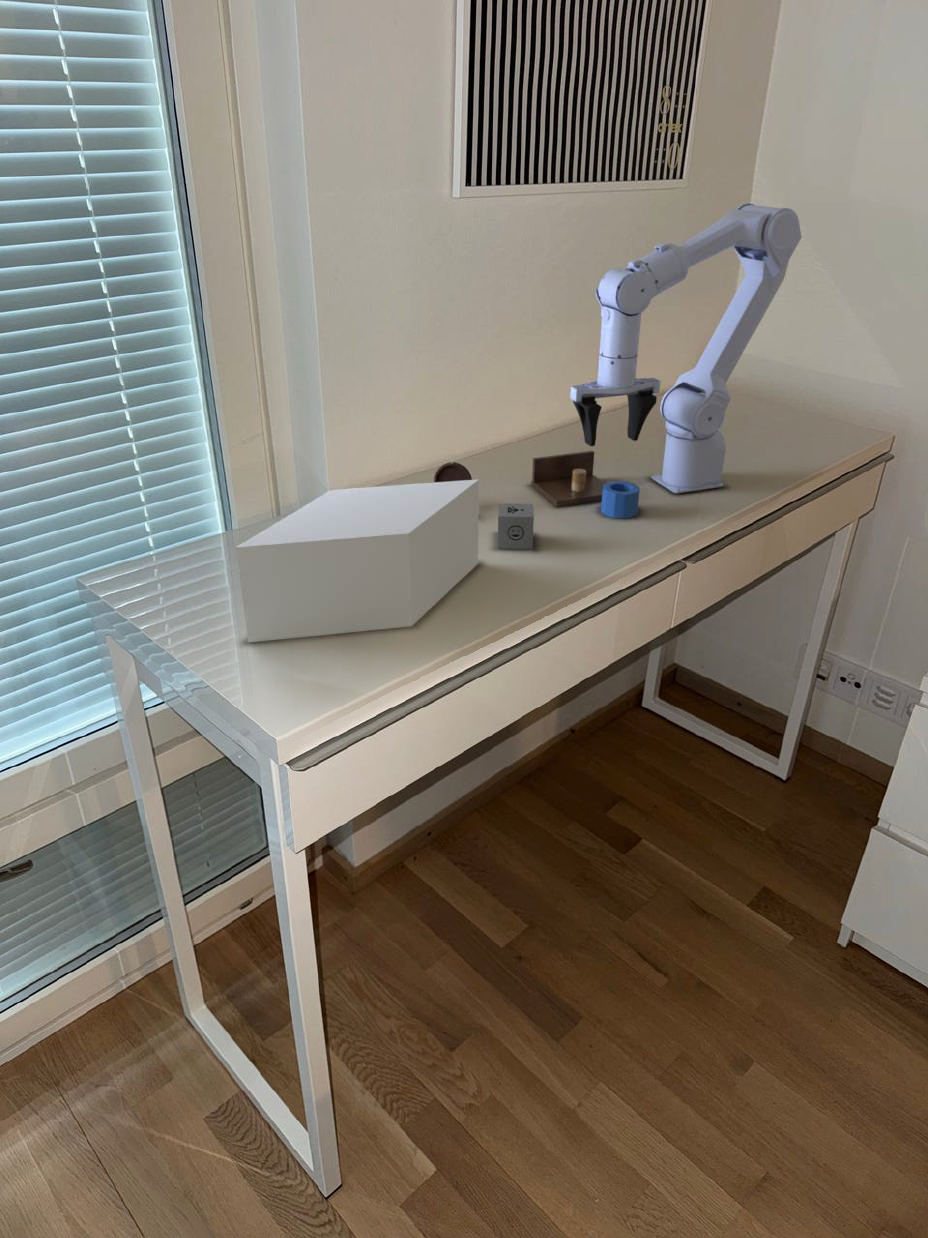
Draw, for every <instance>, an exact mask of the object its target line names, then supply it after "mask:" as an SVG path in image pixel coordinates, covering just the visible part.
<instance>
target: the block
mask: <svg viewBox="0 0 928 1238" xmlns="http://www.w3.org/2000/svg"><path fill="white" fill-rule="evenodd" d="M479 521H480V479H472V480H463V481H449V482H435V483H434V482H423V483H421V482H420V483H410V484H395V485H382V486H381V485H380V486H367V487H365V486H364V487H352V488H340V489H330V490H328V491H326V492H325V493H323V494H322V495H320V496H318V497H317V498H315V499H313V500H312V501H310V502H309V503H306V504H305V505H303V506H302V507H300V508H298V509H297V510H295V511H293V512H292V513H290V514H288V515H287V516H285V517H284V518H282V519H280V520H278V521H277V522H275V523H274V524H272V525H270V526H268V527H267V528H265V529H263V530H262V531H260V532H259V533H257V534H255V535H254V536H252V537H250V538H249V539H247V540H245V541H244V542H242V543H240V544H239V545H237V546H235V551H236V560H237V567H238V575H239V581H240V589H241V597H242V604H243V611H244V612H243V613H244V620H245V626H246V627H245V628H246V634H247V635H246V636H247V641H248V643H255V642H266V641H275V640H285V639H286V640H288V639H297V638H298V639H299V638H306V637H316V636H317V637H318V636H328V635H337V634H347V633H348V634H349V633H357V632H367V631H368V632H369V631H377V630H387V629H398V628H399V629H400V628H408V627H412V626H414V625H415V624H416V623H417V622H418V621H419V620H420V619H421V618H422V617H423V616H424V615H425V614H427V613H428V612H429V610H431V609H432V608H433V607H434V606H435V605H436V604H437V603H438V602H439V601H440V600H441V599H442V598H443V597H445V596H446V595H447V594H448V593H449V592H450V591H451V590H452V589H453V588H454V587H455V586H456V585H457V584H459V582H460V581H462V580H463V579H464V578H465V576H467V574H469V573H470V572H472V570H473V569H474V568H475V567H476V566H477V565H478V564H479V537H480V536H479V528H480V527H479V526H480V525H479V524H480V523H479Z"/></svg>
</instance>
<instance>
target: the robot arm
mask: <svg viewBox="0 0 928 1238" xmlns="http://www.w3.org/2000/svg"><path fill="white" fill-rule="evenodd" d="M801 240H802V232H801V225H800V219H799V216H798V214H797V213H796V211H795V210H794V209H792V208H789V207H773V206H765V205H757V204H754V203H750V202H749V203H748V202H745V203H742V204H740V205H738V207H737V206H736V208H734V209H730V210H728V211H727V212H726V213H725V215H724V217H722V218H721V219H719V220H717V221H716V222H714V223H713V224H711V225H710V226H708V227H707V228H705V229H704V230H702V231H700V232H699V233H697V234H696V235H694V236H693V237H692V238H689V239H688V240H686V241H685V242H683V243H682V244H680V245H677V244H675V243H670V242H669V243H663V242H660V243H657V244H656V245H654V250H653V251H651V252H650V253H648V254H646V255H644V256H643V257H641V258H638V259H632V260H630V261H629V262H628V263H627V264H628V265H627V266H625V268H617V267H616V268H612V269H610V270H608V271H607V272H606V273H605V274H604V275H603V277H602V278H601V280H600V282H599V284H598V287H596V288H595V298H596V300H597V302H598V304H599V306H600V317H601V326H600V339H599V340H600V341H599V355H598V356H599V358H598V369H597V380H593V381H591V382H587V383H583V384H578V385H572V386H570V391H569V392H570V395H569V399H570V400H572V402H573V405H574V407H575V409H576V412H577V414H578V416H579V420H580V423H581V427H582V431H583V437H584V444H586V445H588V446H589V447H595V446H596V441H597V428H598V422H599V419H600V414H601V411H602V406H601V405H600V404H599V403H598V401H597V400H596V399H604V398H613V397H621V396H627V405H628V419H627V420H628V421H627V430H626V431H627V438H628V439H630V440H631V441H633V442H635V441H636V442H637V441H638V440H639V438H640V434H641V431H642V429H643V426H644V424H645V421H646V419H647V417H648V416H649V414H650V412H651V411H652V409H653V408H654V406H655V405H656V404H657V398H658V397H657V396H656V395H654V394H660V389H661V380H660V379H657V378H656V377H645V378H644V377H643V378H642V377H641V378H636V377H637V367H638V357H639V344H640V332H641V323H642V314H643V313H644V311H646V309H647V308H648V307H649V305H650V303H651V301H652V300H653V298H655V297H656V296H658V295H659V294H662V293H663V292H666V291H667V290H668V289H670V288H672V287H674V286H675V285H677V284H679V283H681V282H683V281H684V280H685V279H686V278H687V276H688V273H689V269H690V268H691V267H693V266H696V265H697V264H699V263H701V262H704V261H705V260H708V259H710V258H712V257H713V256H716V255H718V254H719V253H722V252H724V251H726V250H728V249H731V248H733V250H734V252H735V255H736V257H737V258H738V260H739V262H740V264H741V266H742V267H743V271H744V278H743V280H742V281H741V283H740V285H739V287H738V289H737V291H736V292H735V294H734V296H733V297H732V299H731V301H730V303H729V305H728V307H727V309H726V311H725V312H724V314H723V316H722V319H721V320H720V321H719V324H718V325H717V327H716V329H715V330H714V333H713V334H712V336H711V338H710V340H709V342H708V344H707V345H706V347H705V349H704V351H703V353H702V354H701V356H700V358H699V360H698V362H697V364H696V365H695V367H694V368H692V369H690V370H688V371H686V372H683V374H680V375H679V376H678V379H677V381H676V382H675V383H674V384H673V385H672V387H671V388H669V389H668V390H667V391H666V392H665V393H664V395H663V397H662V399H661V401H660V405H659V412H660V416H661V417H662V419H663V420H664V421H665V426H664V427H665V429H666V434H665V435H666V436H665V445H664V454H663V461H662V462H663V463H662V471H661V472H662V473H659V474H653V475H651V477H650V479H651V480H653V481H655V482H656V483H658V484H659V485H660V486H663V487H664V488H666V489H667V490H668V491H670V492H672V493H673V494H684V493H691V492H698V491H704V490H710V489H711V490H712V489H717V488H723V487H724V483H723V482H722V477H723V471H724V464H725V457H726V441H725V437H724V435H723V434H722V432H720V431H719V430H720V428H721V427H722V425H723V423H724V420H725V415H726V410H727V407H728V406H729V403H730V402H731V395H730V393H729V390H728V386H727V382H728V380H729V378H730V377H731V374H732V373H733V371H734V369H735V368H736V366H737V364H738V362H739V361H740V359H741V357H742V356H743V353H744V351H745V350H746V348H747V346H748V345H749V343H750V341H751V339H752V337H753V336H754V333H755V332H756V330H757V329H758V326H759V325H760V323H761V322H762V319H763V318H764V316H765V314H766V312H767V310H768V309H769V307H770V305H771V303H772V302H773V300H774V298H775V297H776V295H777V293H778V291H779V289H780V287H781V286H782V284H783V282H784V279H785V278H786V274H787V270H788V266H789V262H790V259H791V257H792V255H793V254H794V252H795V250H796V248H797V246H798V245H799V244H800V241H801Z"/></svg>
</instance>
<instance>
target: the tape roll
mask: <svg viewBox="0 0 928 1238" xmlns="http://www.w3.org/2000/svg"><path fill="white" fill-rule="evenodd" d="M639 498H640V486H639V485H637V484H635V483H633V482H629V481H623V480H622V481H621V480H615V481H608V482H605V484H604V485H603V493H602V500H601V505H600V506H601V508H600V512H601V513H602V514H603V515H604V516H605V517H609V518H614V519H629V518H630V519H631V518H633V517H635V516H636V515H638V510H639V501H640V500H639Z"/></svg>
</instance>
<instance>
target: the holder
mask: <svg viewBox="0 0 928 1238" xmlns="http://www.w3.org/2000/svg"><path fill="white" fill-rule="evenodd" d="M594 460H595V451H594V450H588V451H580V452H570V453H563V454H562V453H561V454H555V455H554V454H553V455H548V456H540V457H533V458H532V474H531V481H530V483H531V484H530V486H531V487H532V488H533V489H534V490H535V491H537V492H538V493H539V494H540V495H542V496H543V497H544V498H545V499H546V500H548V501H549V502H550V503H551V504H552V505H554V507H556V508H559V507H565V506H573V505H580V504H587V503H593V502H600V501H601V502H602V493H603V485H604V484H606V482H604V481H603V480H601V479H599V478H598V477H597V476H595V475H594V464H595V463H594V462H595V461H594Z"/></svg>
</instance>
